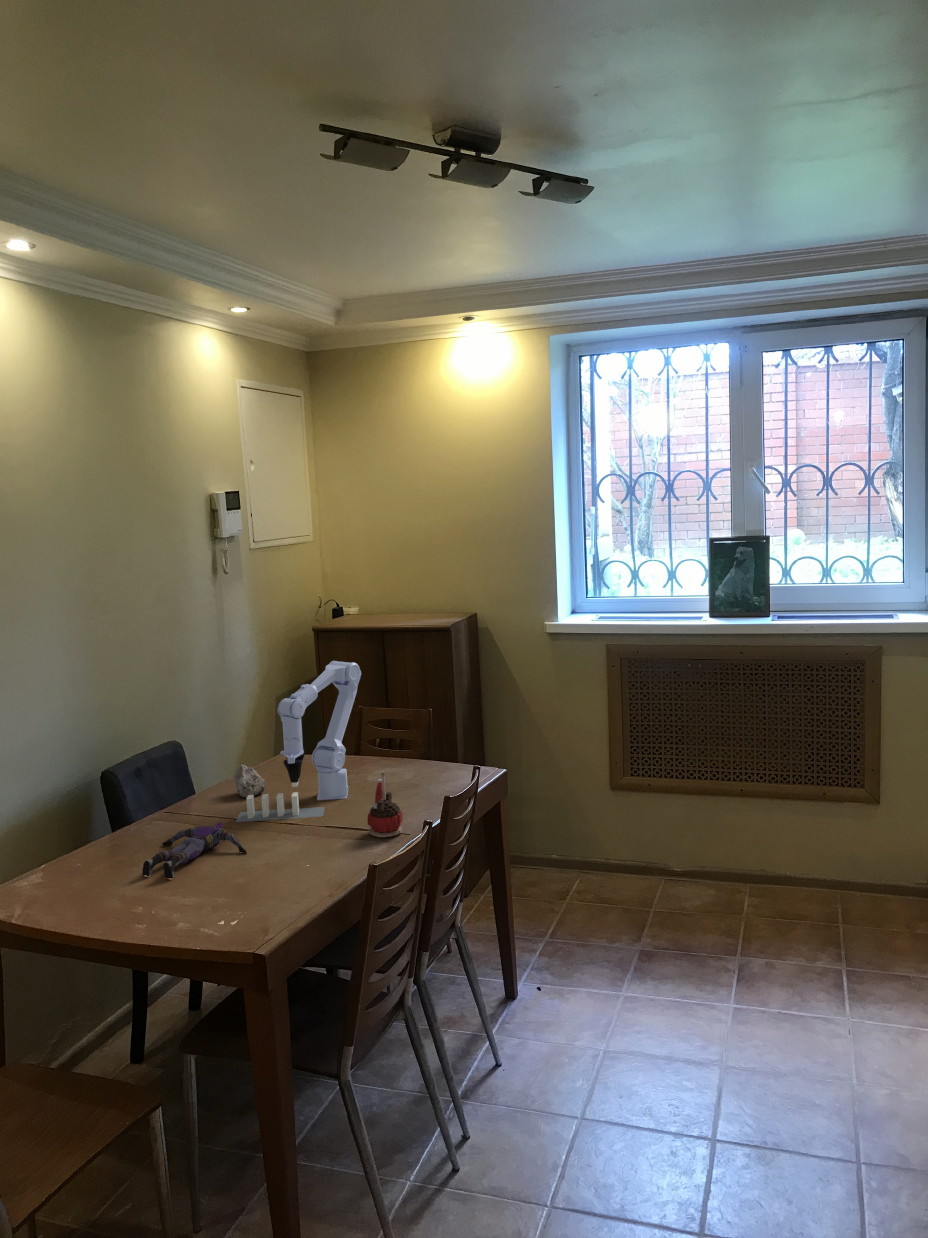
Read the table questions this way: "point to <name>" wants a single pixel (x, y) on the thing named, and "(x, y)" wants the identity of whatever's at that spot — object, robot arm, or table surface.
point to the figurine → (189, 847)
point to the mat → (287, 815)
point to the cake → (384, 813)
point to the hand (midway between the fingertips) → (295, 780)
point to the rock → (248, 781)
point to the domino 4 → (295, 784)
